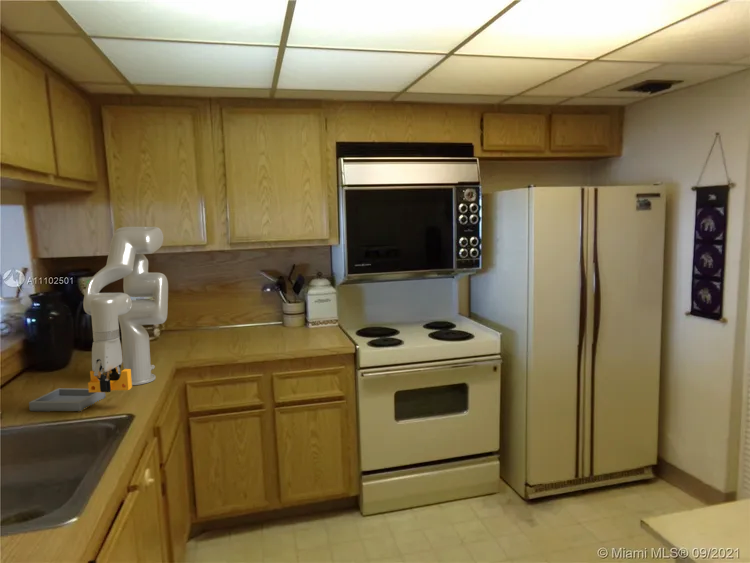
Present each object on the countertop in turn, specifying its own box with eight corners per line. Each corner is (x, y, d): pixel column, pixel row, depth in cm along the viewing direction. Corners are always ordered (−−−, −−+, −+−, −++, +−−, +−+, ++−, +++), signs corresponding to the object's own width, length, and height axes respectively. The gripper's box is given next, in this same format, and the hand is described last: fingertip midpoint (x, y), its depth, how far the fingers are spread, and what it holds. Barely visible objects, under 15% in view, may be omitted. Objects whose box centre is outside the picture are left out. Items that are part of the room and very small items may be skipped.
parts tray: (59, 396, 176) (58, 388, 176) (105, 397, 176) (104, 389, 175) (29, 411, 163) (28, 402, 162) (80, 412, 162) (79, 403, 161)
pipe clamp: (88, 392, 162) (87, 373, 161) (95, 387, 166) (94, 369, 166) (125, 392, 162) (124, 373, 162) (132, 387, 167) (130, 368, 166)
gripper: (110, 328, 170) (114, 379, 173) (78, 341, 153) (83, 398, 156) (131, 328, 170) (135, 380, 173) (102, 342, 153) (106, 398, 156)
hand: (110, 388), depth 164 cm, fingers closed on pipe clamp, 4 cm apart
